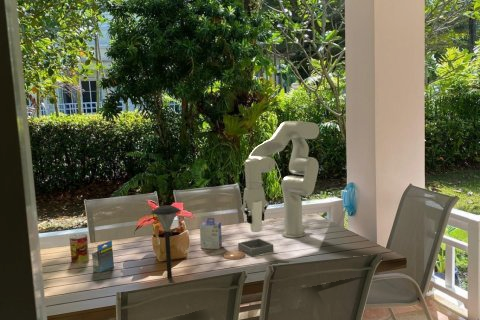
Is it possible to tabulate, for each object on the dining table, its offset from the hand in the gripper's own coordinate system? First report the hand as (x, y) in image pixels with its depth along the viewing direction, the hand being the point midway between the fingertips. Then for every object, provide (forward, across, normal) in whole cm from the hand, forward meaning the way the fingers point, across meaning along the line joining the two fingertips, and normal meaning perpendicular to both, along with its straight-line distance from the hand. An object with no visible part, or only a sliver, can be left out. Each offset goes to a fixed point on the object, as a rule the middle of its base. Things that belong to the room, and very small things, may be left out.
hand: (255, 221), depth 226 cm
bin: (+14, +1, 0) cm, 14 cm away
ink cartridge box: (+14, +16, -18) cm, 28 cm away
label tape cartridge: (+13, +69, -20) cm, 73 cm away
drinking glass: (+5, 0, 0) cm, 5 cm away
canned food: (+13, +75, -38) cm, 85 cm away
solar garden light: (+13, +49, +7) cm, 51 cm away
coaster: (+14, +13, 0) cm, 19 cm away
